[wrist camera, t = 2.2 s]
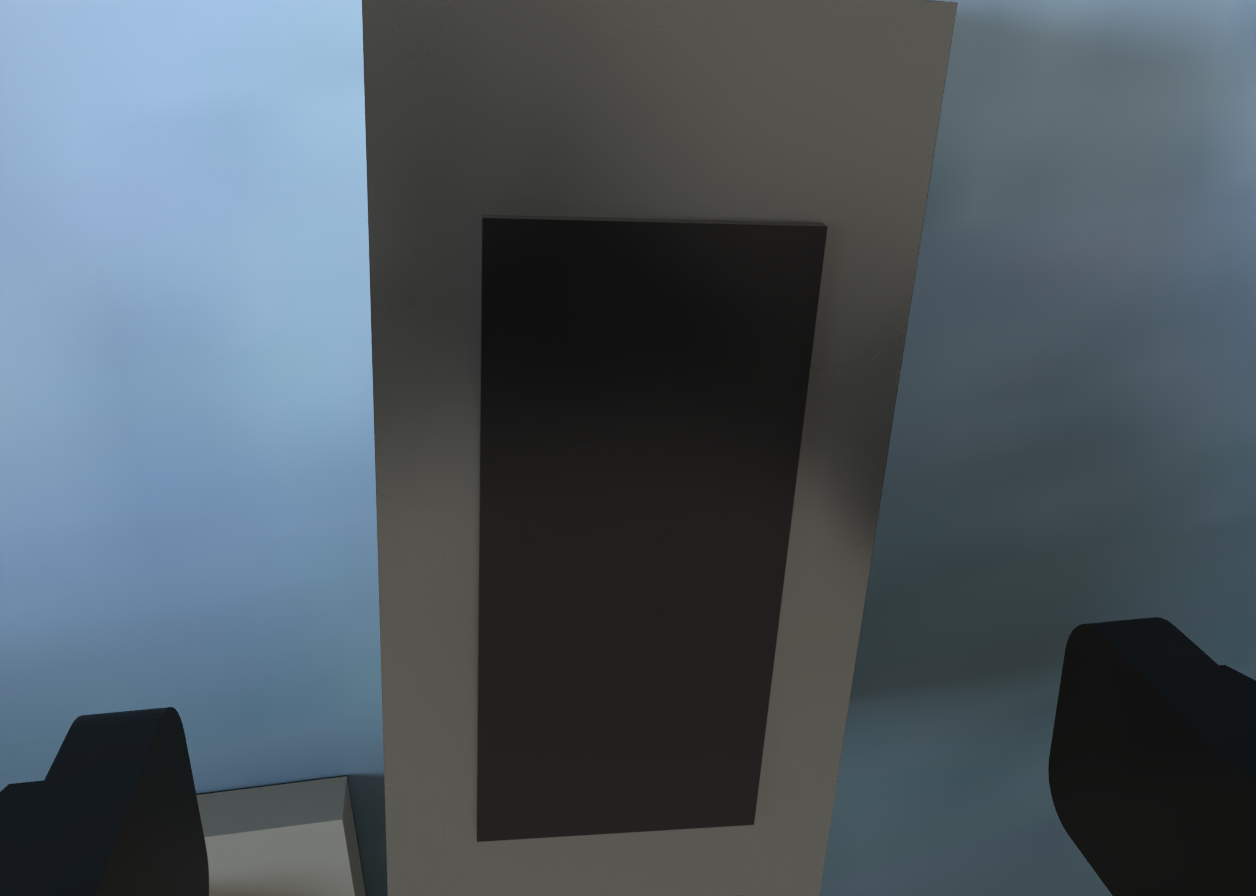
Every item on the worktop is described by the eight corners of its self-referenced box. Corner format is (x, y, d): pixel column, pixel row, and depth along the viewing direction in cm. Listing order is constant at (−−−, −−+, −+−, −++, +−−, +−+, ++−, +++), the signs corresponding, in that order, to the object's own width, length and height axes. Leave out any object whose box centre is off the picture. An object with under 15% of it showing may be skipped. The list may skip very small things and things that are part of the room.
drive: (383, -39, 14) (359, -34, 9) (797, -13, 15) (963, 4, 10) (400, 718, 18) (389, 982, 14) (722, 705, 19) (816, 948, 15)
